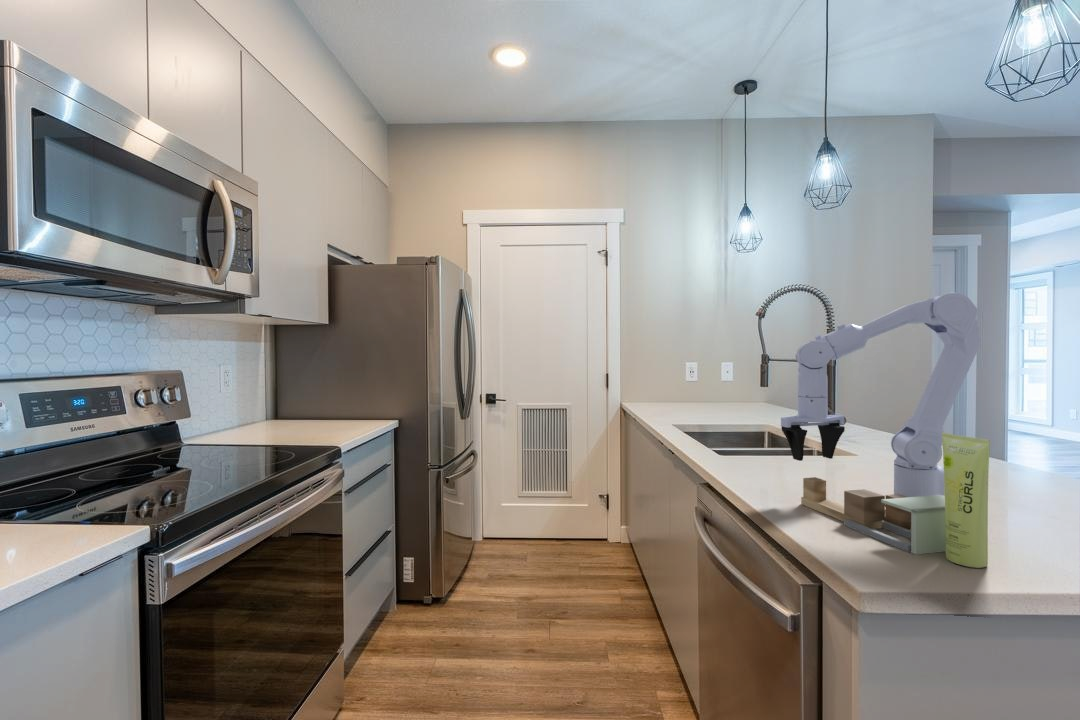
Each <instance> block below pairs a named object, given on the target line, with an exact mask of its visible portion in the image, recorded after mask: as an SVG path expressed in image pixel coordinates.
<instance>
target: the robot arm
mask: <svg viewBox="0 0 1080 720" xmlns="http://www.w3.org/2000/svg"><path fill="white" fill-rule="evenodd" d="M978 313H979V308H978V307H977V306H976V305H975V304H974V302H973V301H972V300H971V299H970V298H969V297H968V296H967V295H965V294H963V293H961V292H955V291H954V292H946V293H945V294H942V295H939V296H932V297H931V296H930V297H928V298H927V299H925V300H921V301H916V302H913V303H910V304H905V305H903V306H900V307H899V308H896V309H895V310H892V311H890V312H888V313H886V314H884V315H881V316H879V317H878V318H875V319H873V320H871V321H869V322H867V323H865V324H862V325H856V324H854V323H848V324H847V325H846V324H845V323H842V324H840V325H837V326H836V329H835V330H833V331H831V332H828V333H826V334H824V335H822V336H821V335H817V336H815V337H814V339H815V340H810V341H809V342H804V343H803V344H801V345H800V346H799V348H798V349H797V350H796V354H795V359H796V362H798V368H797V369H798V370H797V371H798V375H797V414H796V415H793V416H792V415H791V416H783V417H780V427H781V431H782V433H783V435H784V436H785V438H786V440H787V443H788V446H789V448H790V451H791V455H792V459H793V460H796V461H799V462H801V461H802V462H803V459H804V449H805V448H804V447H805V440H806V436H807V434H808V430H807V429H803V428H802V427H812V426H814V427H815V426H817V427H818V432H819V435H820V440H821V441H820V443H821V454H822V458H826V459H829V460H830V459H833V457H834V454H835V451H836V447H837V445H838V442H839V440H840V439H841V437H842V435H843V433H845V431H846V430H845V426H844V425H845V415H840V414H828V413H829V409H828V408H829V407H828V402H829V400H828V399H829V397H828V396H829V395H828V391H829V390H828V385H829V384H828V383H829V381H828V380H829V379H828V374H827V370H828V369H827V367H828V366H827V365H828V364H829V363H830V360H831V361H836V360H839V359H840V358H843V357H846V356H848V355H851V354H852V353H856V352H857V351H860V350H862V349H864V348H865V347H866V344H867V342H868V341H869V340H870V339H871V338H874V337H877V336H880V335H882V334H885V333H887V332H890V331H892V330H895V329H897V328H900V327H902V326H906V325H907V324H912V325H914V324H915V325H918V324H923V325H925V326H927V327H928V328H930V329H931V330H933V331H934V332H935V333H936V334H937V336H938V337H939V339H940V340H941V342H942V343H943V345H944V346H943V348H942V350H941V353H940V355H939V357H938V360H937V361H936V363H935V366H934V368H933V370H932V373H931V375H930V376H929V379H928V381H927V383H926V386H925V388H924V390H923V393H922V395H921V397H920V399H919V401H918V404H917V405H916V408H915V410H914V412H913V415H912V416H910V418H909V419H908V420H906V421H905V422H904V425H903V427H902V429H900V430H899V431H897V432H896V433H895V434H894V435H893V436H892V438H891V440H890V445H891V446H890V447H891V449H892V451H893V453H895V455H896V458H894V460H893V494H900V495H904V496H907V497H918V496H931V495H943V496H945V491H944V466H941V465H938V463H939V462H941V459H942V457H943V445H942V433H945V432H944V424H945V422H946V420H947V419H948V416H949V414H950V411H951V409H952V406H953V405H954V403H955V401H956V398H957V396H958V394H959V392H960V389H961V387H962V385H963V384H964V381H965V379H966V377H967V375H968V372H969V370H970V368H971V365H973V364H972V363H973V361H974V359H975V357H976V355H977V353H978V351H979V350H980V347H981V344H982V338H981V333H980V328H979V323H978Z"/></svg>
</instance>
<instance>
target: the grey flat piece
mask: <svg viewBox="0 0 1080 720" xmlns="http://www.w3.org/2000/svg"><path fill="white" fill-rule="evenodd" d="M843 526H846V527H848V528H850V529H852V530H855V531H858V532H860V533H863V534H864V535H867V536H869V537H872V538H873V539H877V540H879V541H881V542H883V543H886V544H888V545H890V546H892V547H895V548H897V549H900V550H902V551H904V552H908V553H911V543H908V542H906V541H903V540H900V539H898V538H896V537H893V536H891V535H888V534H885V533H884V532H882V531H879V530H876V529H871V528H869V527H866V526H864V525H861V524H859V523H856V522H854V521H851V520H849V519H847V520H844V521H843ZM882 529H886V530H888V531H890V532H893V533H895V534H898V535H901V536H903V537H906V538H909V539H911V526H910V530H908V529H905V528H903V527H900V526H897V525H895V524H892V523H889V522H887V521H884V520H882Z"/></svg>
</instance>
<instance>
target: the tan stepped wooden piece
mask: <svg viewBox="0 0 1080 720" xmlns="http://www.w3.org/2000/svg"><path fill="white" fill-rule="evenodd" d="M802 481H803V485H802V488H803V489H802V491H803V492H802V495H803V496H801V498H800V499H801V501H800V502H801V504H800V505H803V506H805V507H807V508H810V509H813V510H815V511H817V512H819V513H823V514H825V515H826V516H830V517H832V518H834V519H837V520H840V521H842V522H844V520H847V519H849V520H851V521H854V522H856V523H859V524H861V525H864V526H866V527H869V528H871V529H874V530H876V529H883V527H882V521H871V522H862V521H860V520H857V519H855V518H852V517H850V516H847V515H845V514H844V504H841V503H838V502H835V501H833V500H829V499H828V498H827V480H825V479H822V478H819V477H816V476H815V477H813V476H812V477H803V478H802Z"/></svg>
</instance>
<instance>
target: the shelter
mask: <svg viewBox="0 0 1080 720" xmlns="http://www.w3.org/2000/svg"><path fill="white" fill-rule="evenodd" d="M881 502H882V503H885V505H886V504H888V505H890V506H893V507H896V508H899V509H902V510H905V511H908V512H911V538H910V541H911V543H910V544H911V552H910V553H912V554H914V555H922V554H930V553H931V554H933V553H941V552H946V531H945V496H943V495H931V496H918V497H906V498H894V499H886V498H885V499H882V500H881Z"/></svg>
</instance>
